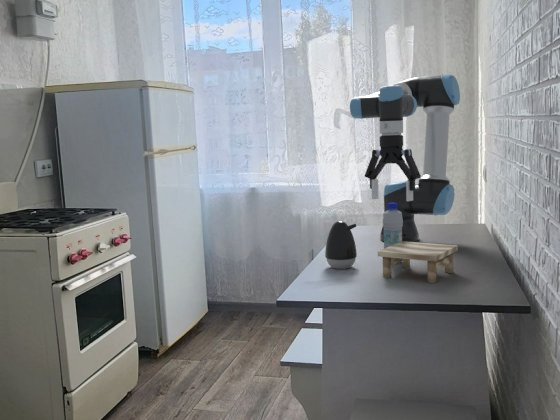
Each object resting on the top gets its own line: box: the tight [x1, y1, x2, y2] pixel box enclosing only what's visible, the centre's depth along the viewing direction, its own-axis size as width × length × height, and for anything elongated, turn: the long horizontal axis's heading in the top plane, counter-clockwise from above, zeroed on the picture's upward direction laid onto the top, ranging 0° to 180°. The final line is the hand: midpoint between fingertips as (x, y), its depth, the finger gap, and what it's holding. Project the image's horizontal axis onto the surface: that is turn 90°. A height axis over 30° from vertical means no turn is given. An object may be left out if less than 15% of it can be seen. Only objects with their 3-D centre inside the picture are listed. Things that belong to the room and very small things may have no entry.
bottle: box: [382, 202, 403, 249], centre depth 201 cm, size 7×7×20 cm
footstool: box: [377, 241, 459, 284], centre depth 184 cm, size 18×18×8 cm
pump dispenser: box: [324, 220, 358, 270], centre depth 197 cm, size 10×10×15 cm
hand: (392, 199), depth 200 cm, fingers open, 13 cm apart
